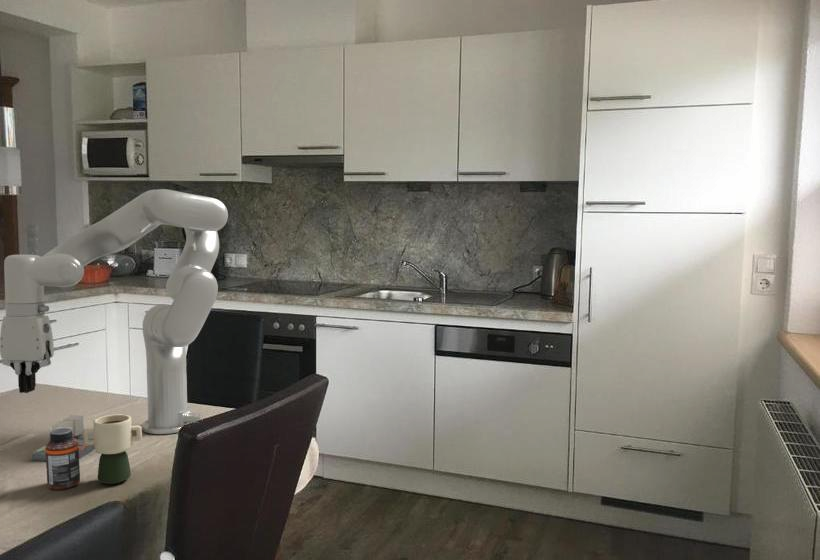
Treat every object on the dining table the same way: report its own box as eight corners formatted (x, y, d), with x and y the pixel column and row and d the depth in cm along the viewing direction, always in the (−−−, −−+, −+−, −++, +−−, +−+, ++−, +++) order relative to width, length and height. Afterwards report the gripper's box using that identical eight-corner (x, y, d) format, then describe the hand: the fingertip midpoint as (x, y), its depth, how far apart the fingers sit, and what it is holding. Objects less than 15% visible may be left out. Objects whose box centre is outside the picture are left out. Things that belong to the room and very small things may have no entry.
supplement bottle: (55, 479, 139) (52, 426, 138) (85, 479, 140) (82, 425, 139) (41, 491, 134) (39, 435, 132) (73, 490, 134) (70, 435, 133)
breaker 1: (73, 437, 159) (72, 421, 159) (64, 442, 156) (64, 425, 156) (60, 437, 160) (60, 420, 159) (52, 442, 156) (51, 425, 156)
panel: (111, 438, 165) (111, 431, 165) (74, 461, 150) (74, 454, 149) (72, 436, 166) (72, 430, 166) (31, 460, 150) (31, 453, 150)
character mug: (144, 471, 144) (142, 411, 143) (141, 484, 137) (140, 421, 136) (87, 477, 141) (85, 416, 140) (82, 490, 134) (80, 426, 133)
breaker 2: (83, 431, 164) (83, 415, 163) (75, 436, 160) (75, 419, 160) (71, 431, 164) (71, 415, 164) (63, 435, 161) (63, 419, 160)
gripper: (67, 309, 154) (68, 388, 155) (4, 307, 155) (6, 386, 156) (47, 313, 146) (49, 397, 148) (-19, 311, 147) (-17, 394, 149)
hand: (27, 391), depth 152 cm, fingers closed
